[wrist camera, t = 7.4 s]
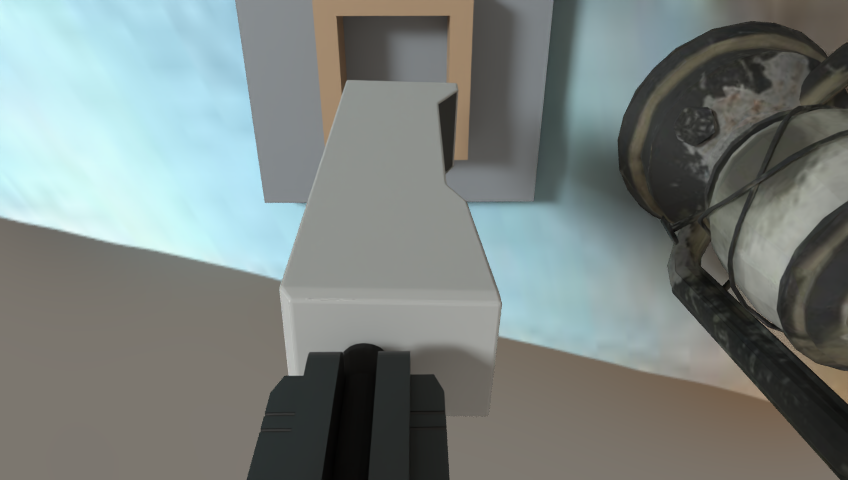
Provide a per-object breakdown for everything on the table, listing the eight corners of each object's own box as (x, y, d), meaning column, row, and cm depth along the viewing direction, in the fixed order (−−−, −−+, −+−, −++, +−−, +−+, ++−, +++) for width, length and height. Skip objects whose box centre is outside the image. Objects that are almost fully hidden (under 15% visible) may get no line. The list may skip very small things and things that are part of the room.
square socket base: (229, -107, 34) (202, -104, 30) (556, -107, 34) (577, -104, 30) (270, 189, 43) (254, 224, 39) (528, 188, 43) (541, 222, 39)
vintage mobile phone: (452, 157, 30) (551, 880, 8) (349, 154, 30) (182, 884, 8) (457, 80, 28) (599, 764, 7) (346, 77, 28) (122, 766, 6)
